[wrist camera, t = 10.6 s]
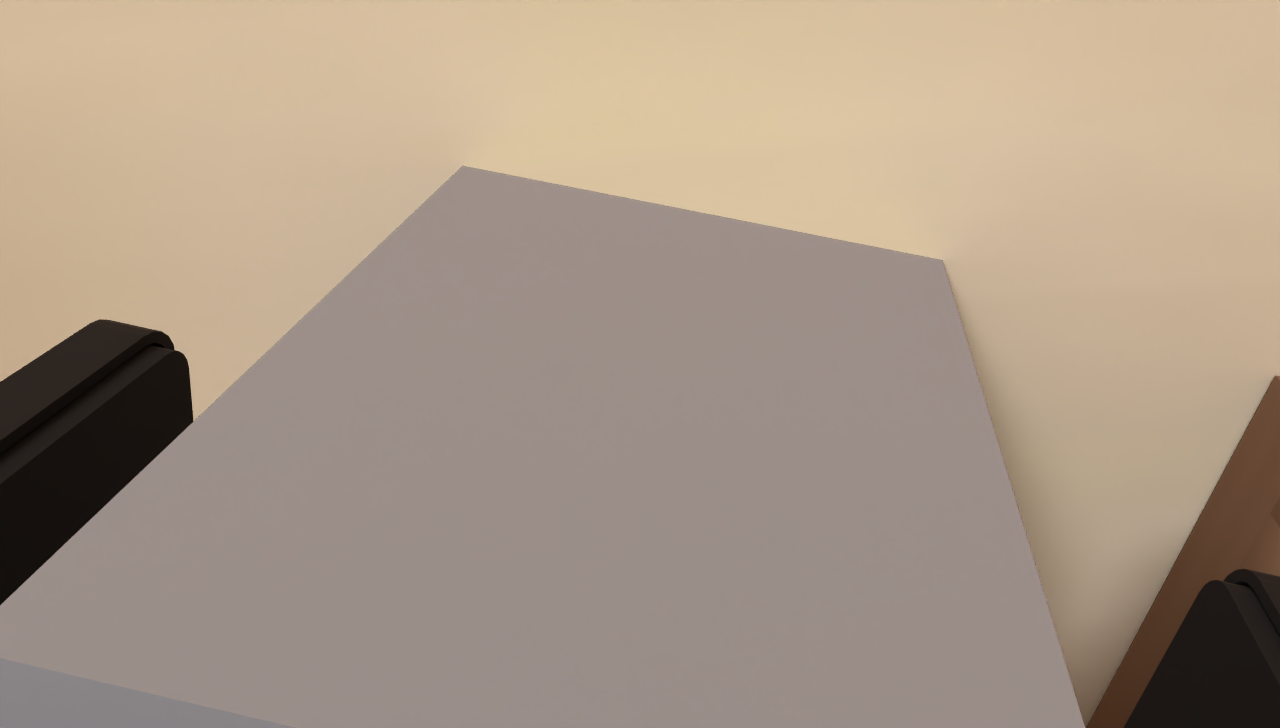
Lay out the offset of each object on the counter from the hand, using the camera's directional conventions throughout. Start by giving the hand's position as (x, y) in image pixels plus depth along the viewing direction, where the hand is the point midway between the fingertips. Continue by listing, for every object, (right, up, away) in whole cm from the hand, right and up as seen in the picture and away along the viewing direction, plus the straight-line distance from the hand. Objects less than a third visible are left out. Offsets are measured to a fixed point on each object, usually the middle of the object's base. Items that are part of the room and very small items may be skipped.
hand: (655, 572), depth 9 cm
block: (0, +1, +2) cm, 3 cm away
